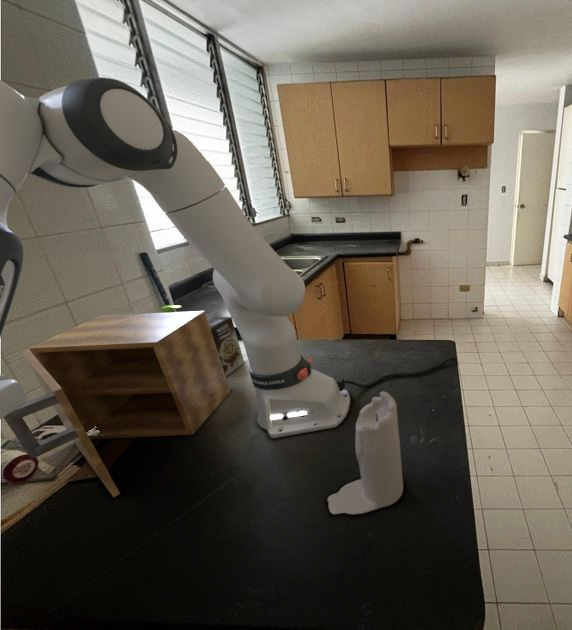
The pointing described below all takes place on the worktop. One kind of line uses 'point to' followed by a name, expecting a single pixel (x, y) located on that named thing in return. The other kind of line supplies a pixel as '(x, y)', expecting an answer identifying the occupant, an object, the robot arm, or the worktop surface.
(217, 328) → the coffee box
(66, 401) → the cupboard door
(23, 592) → the worktop surface
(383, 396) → the white l-shaped piece
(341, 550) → the worktop surface
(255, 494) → the worktop surface
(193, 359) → the cupboard
